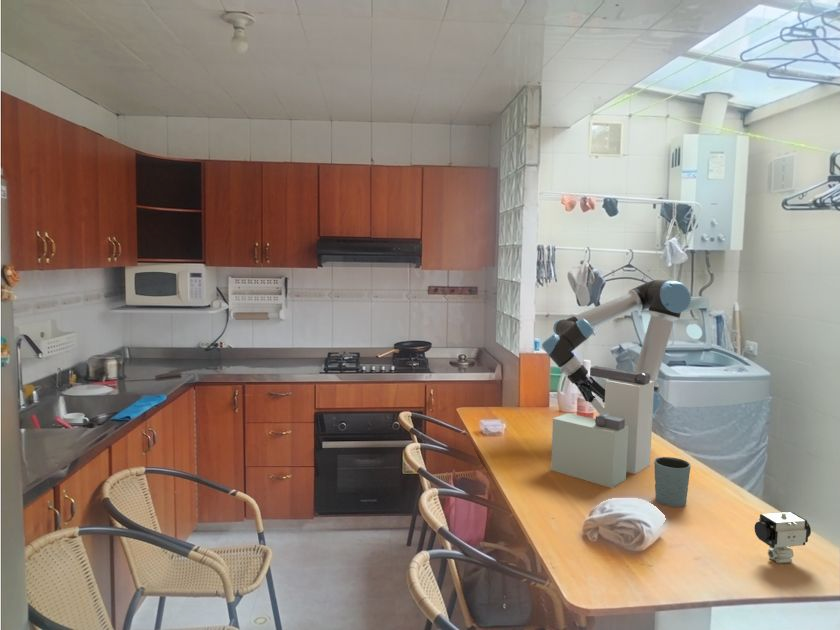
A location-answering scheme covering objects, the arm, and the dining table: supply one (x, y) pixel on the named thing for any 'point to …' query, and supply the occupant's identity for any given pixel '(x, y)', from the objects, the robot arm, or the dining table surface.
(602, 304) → the robot arm
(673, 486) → the blue-grey cup
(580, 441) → the grey-green rectangular block
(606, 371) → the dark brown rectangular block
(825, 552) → the dining table surface
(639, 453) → the taupe rectangular block
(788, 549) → the pneumatic valve
